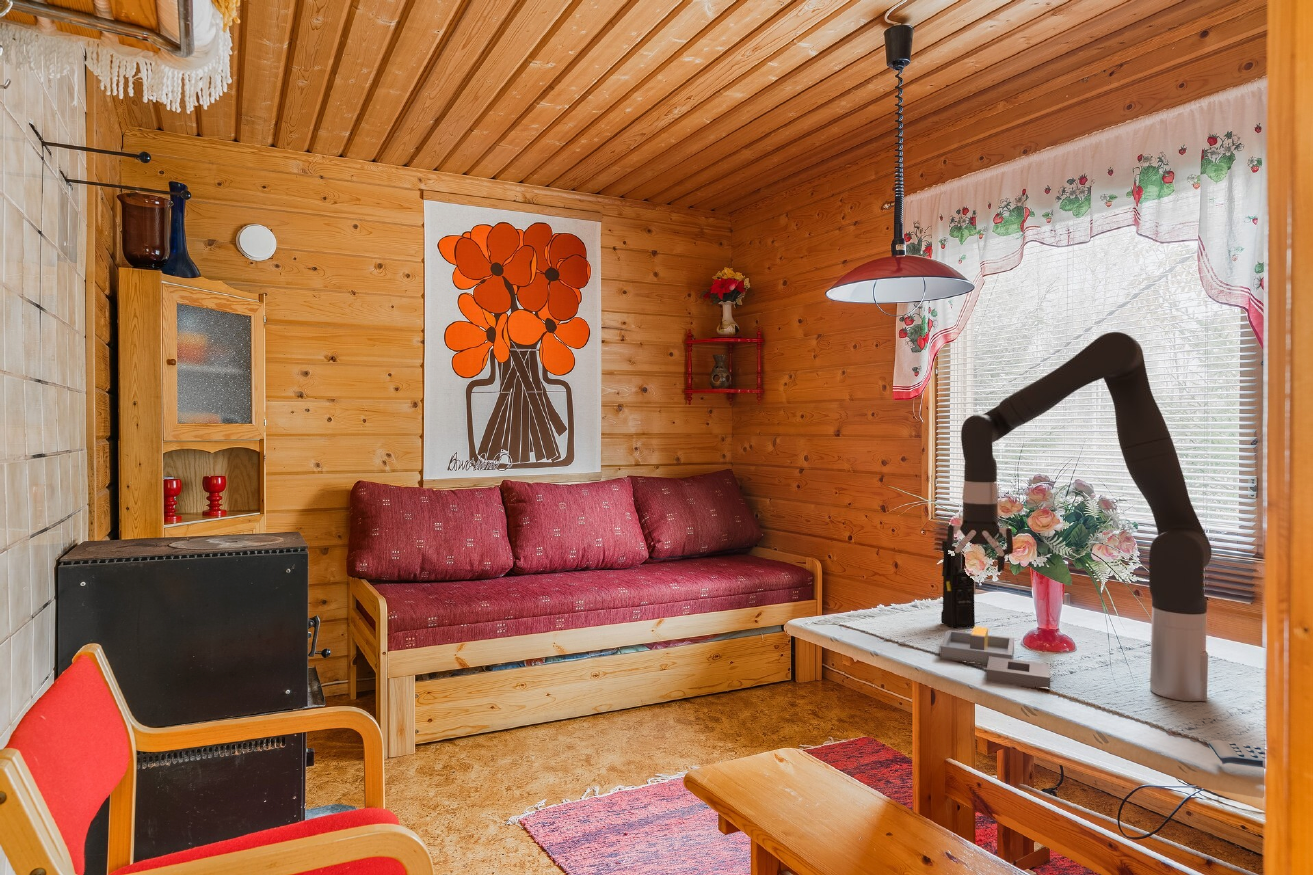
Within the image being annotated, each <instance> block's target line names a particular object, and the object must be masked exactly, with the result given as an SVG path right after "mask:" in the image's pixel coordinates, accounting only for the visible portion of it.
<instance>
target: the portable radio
mask: <svg viewBox="0 0 1313 875" xmlns="http://www.w3.org/2000/svg"><path fill="white" fill-rule="evenodd" d="M958 540H959V539H954V541H953V543H957V542H958ZM941 550H942V552H943V555H942V556H943V558H942V571H941V572H942V573H941V576H942V578H943V579H942V583H943V584H942V610H941V613H940V615H941V617H940V618H941V620H940V621H941V623H942V624H943V625H945V626H946V627H950V628H951V629H961V628H962V629H963V628H974V626H975V625H976V620H975V619H976V618H975V579H974V580H973V579H972V578H970V576H968V575H967V574H966V572H965V570H964V566H965V557H964V555H963V554H962V569H958V567H957V566H955V556H951V554H948V549H947V539H945V540H944V539H943V540H942V543H941Z"/></svg>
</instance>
